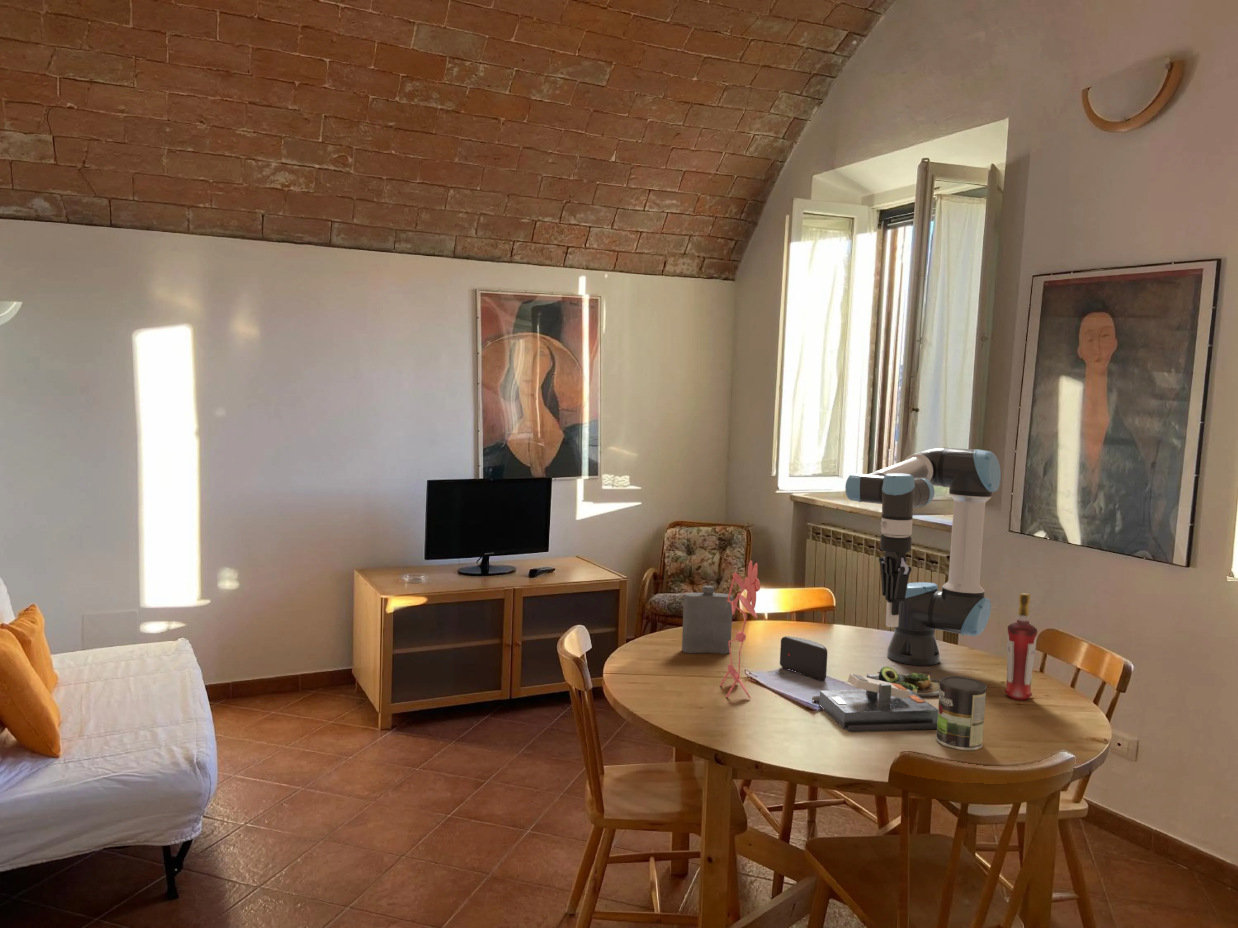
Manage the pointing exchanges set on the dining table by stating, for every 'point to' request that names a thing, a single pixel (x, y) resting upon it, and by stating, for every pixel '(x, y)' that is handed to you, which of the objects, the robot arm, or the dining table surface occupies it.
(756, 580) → the figurine
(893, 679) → the salad plate
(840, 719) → the lever switch plate
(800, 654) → the black rounded flat block
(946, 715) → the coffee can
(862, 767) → the dining table surface
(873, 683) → the rocker
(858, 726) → the rods
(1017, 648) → the liquor
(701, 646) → the flask
